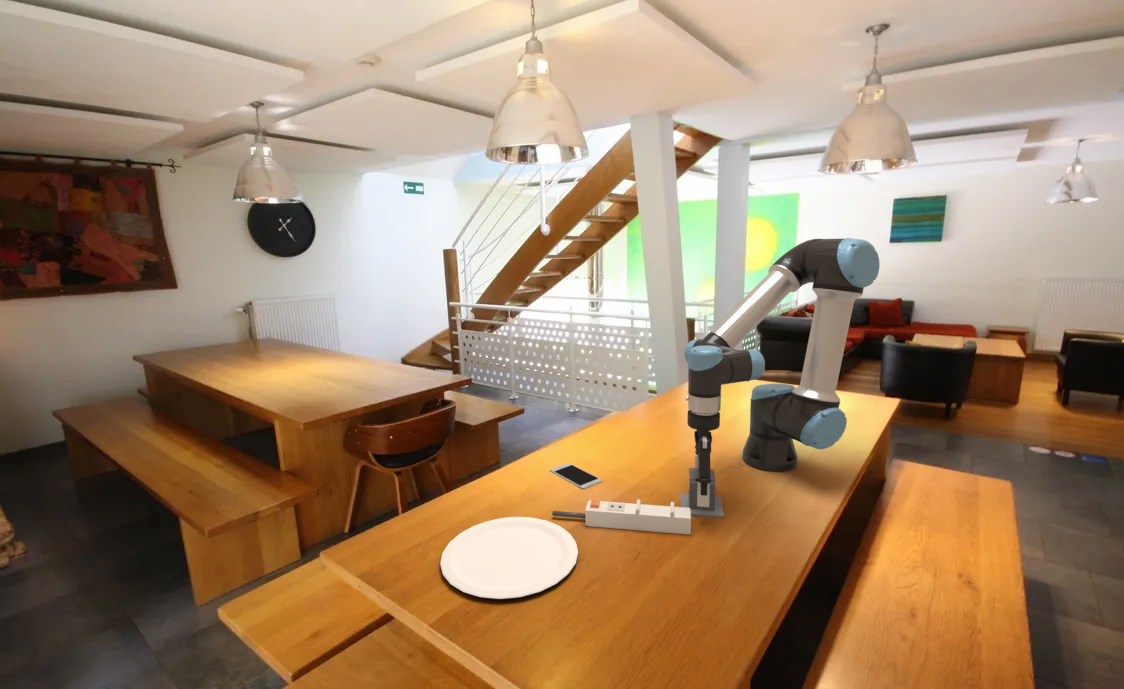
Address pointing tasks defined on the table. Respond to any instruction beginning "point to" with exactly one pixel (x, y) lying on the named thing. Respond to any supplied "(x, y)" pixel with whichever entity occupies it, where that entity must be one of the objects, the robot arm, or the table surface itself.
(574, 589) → the table surface
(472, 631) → the table surface
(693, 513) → the mat
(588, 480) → the smartphone
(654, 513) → the power strip
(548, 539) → the plate
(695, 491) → the grey block
